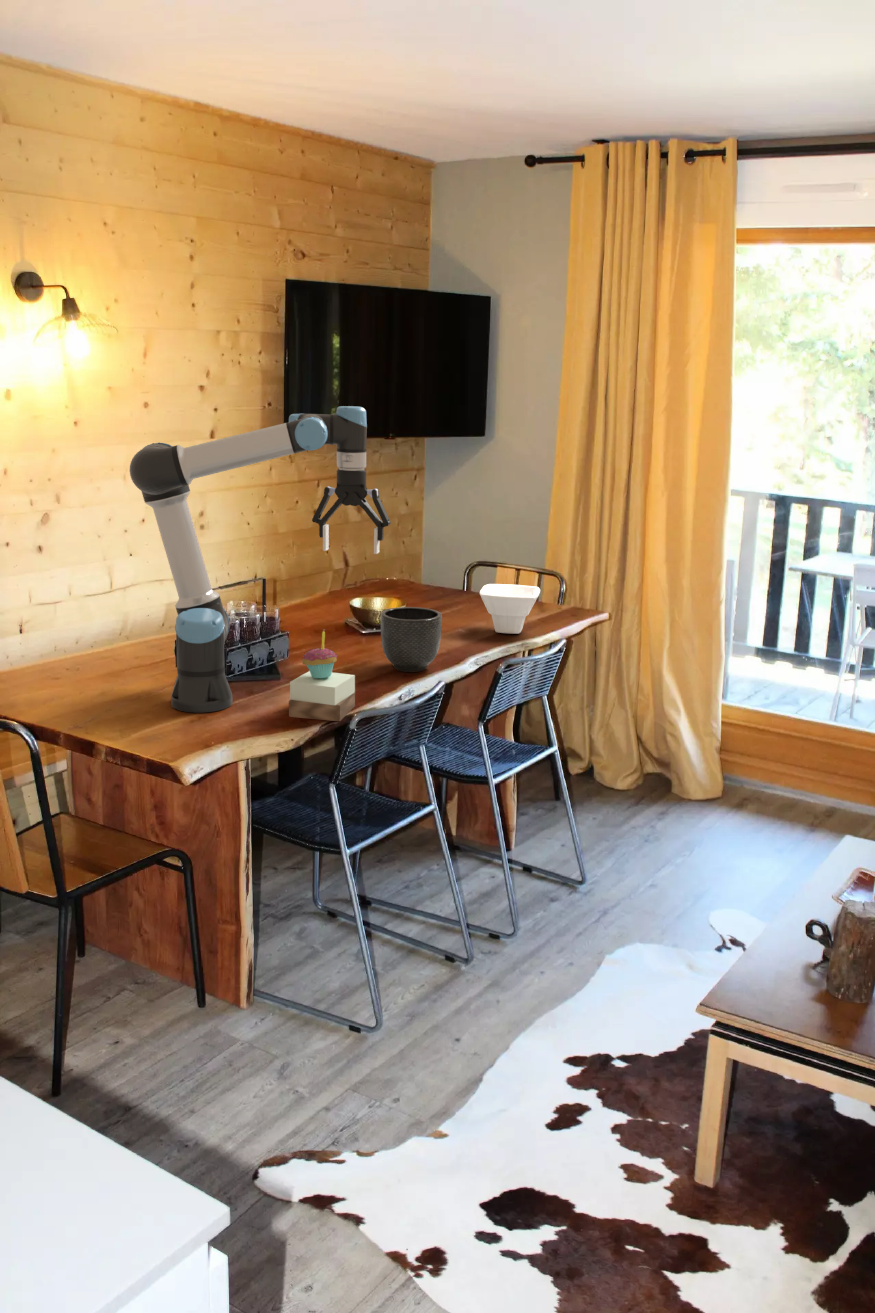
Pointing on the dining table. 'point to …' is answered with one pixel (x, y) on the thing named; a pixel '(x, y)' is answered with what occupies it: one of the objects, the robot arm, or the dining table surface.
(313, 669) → the cupcake
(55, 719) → the dining table surface
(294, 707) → the tower base block
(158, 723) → the dining table surface
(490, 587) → the bowl
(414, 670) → the planter
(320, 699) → the tower top block
